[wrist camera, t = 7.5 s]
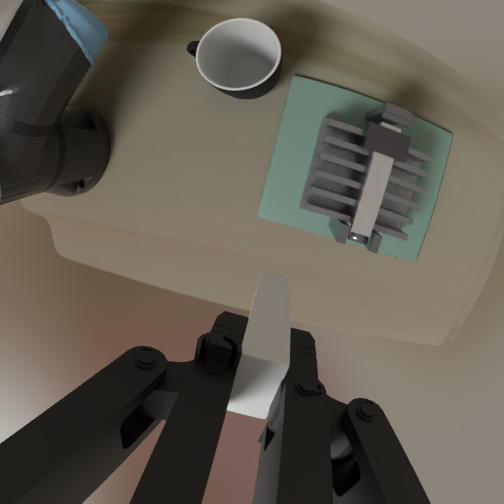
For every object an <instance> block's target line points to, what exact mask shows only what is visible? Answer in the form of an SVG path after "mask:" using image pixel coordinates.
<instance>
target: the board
mask: <svg viewBox="0 0 504 504" xmlns="http://www.w3.org/2000/svg"><path fill="white" fill-rule="evenodd" d="M383 104H384V103H382V102H379V101H377V100H374V99H371V98H368V97H366V96H363V95H360V94H357V93H354V92H351V91H348V90H345V89H342V88H339V87H335V86H332V85H329V84H325V83H322V82H318V81H314V80H311V79H307V78H303V77H299V76H295V75H293V77H292V81H291V85H290V89H289V93H288V97H287V101H286V104H285V108H284V112H283V116H282V120H281V124H280V128H279V132H278V136H277V140H276V144H275V148H274V152H273V156H272V160H271V164H270V168H269V172H268V176H267V180H266V183H265V187H264V191H263V195H262V199H261V203H260V207H259V211H258V215H257V217H258V218H262V219H265V220H269V221H273V222H277V223H280V224H284V225H288V226H291V227H295V228H299V229H302V230H306V231H309V232H313V233H316V234H320V235H323V236H327V237H330V238H334V236H333V234H332V232H331V230H330V228H329V226H328V224H329V221H330V218H331V217H328V216H325V215H321V214H318V213H315V212H311V211H307V210H304V209H300V208H299V204H300V201H301V197H302V193H303V190H304V186H305V182H306V179H307V175H308V171H309V167H310V164H311V160H312V156H313V152H314V148H315V144H316V141H317V137H318V133H319V129H320V125H321V121H322V118H323V117H325V118H329V119H333V120H336V121H339V122H342V123H345V124H348V125H351V126H354V127H357V128H360V129H363V130H367V126H368V122H369V121H366V120H365V117H366V113H368V112H370V111H371V110H373V109H375V108H377V107H379V106H381V105H383ZM393 126H394V127H397V128H399V129H402V130H401V134H404V135H406V136H409V137H411V142H410V148H412V149H415V150H417V151H419V152H421V153H424V154H426V155H428V156H430V157H432V160H431V163H428V162H421V164H420V168H419V169H420V170H423V171H425V172H427V173H428V176H427V178H422V177H418V176H417V179H416V183H415V185H416V186H419V187H421V188H424V190H423V193H422V194H420V193H417V192H414V191H413V193H412V197H411V200H410V201H412V202H415V203H417V204H419V207H418V210H416V209H414V208H411V207H408V210H407V213H406V216H408V217H410V218H411V219H413V220H414V222H413V225H409V224H407V223H404V222H403V225H402V228H401V230H402V231H403V232H405V233H406V234H407V235H409V237H408V240H407V241H405V240H402V239H399V238H396V237H393V236H390V235H387V234H383V233H380V232H378V233H379V234H380V235H381V236H382V237H383V238H382V241H381V244H380V247H379V249H378V252H381V253H384V254H388V255H391V256H394V257H397V258H401V259H404V260H407V261H410V262H413V263H415V260H416V258H417V255H418V252H419V250H420V247H421V244H422V241H423V239H424V236H425V233H426V230H427V227H428V224H429V221H430V218H431V215H432V212H433V209H434V205H435V202H436V199H437V195H438V192H439V188H440V185H441V181H442V177H443V173H444V170H445V166H446V161H447V157H448V153H449V148H450V144H451V139H452V134H451V133H449V132H447V131H445V130H443V129H441V128H439V127H437V126H435V125H433V124H431V123H429V122H426V121H424V120H422V119H420V118H418V117H416V116H413V115H412V116H411V121H410V123H409V127H403V126H401V125H399V124H397V125H393ZM347 223H348V222H347ZM348 224H349V226H351V223H348ZM334 239H335V238H334ZM346 242H348V243H351V244H355V245H358V246H361V247H365V248H366V246H365V245H364V244H362V243H358V242H355V241H352V240H348V237H347V240H346Z"/></svg>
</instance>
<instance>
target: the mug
mask: <svg viewBox="0 0 504 504" xmlns="http://www.w3.org/2000/svg"><path fill="white" fill-rule="evenodd" d="M187 51H188V53H190V54H191V55H193V56H194V57H196V63H197V67H198V69H199V72H200V73H201V75H202V76H203V78H204V79H205V80H206V81H207V82H208V83H209V84H211V85H212V86H213V87H215V88H216V89H218V90H219V91H221V92H223V93H225V94H227V95H230V96H232V97H235V98H239V99H255V98H258V97H261V96H263V95H265V94H266V93H268V92H269V91H270V90H271V89H272V88H273V87H274V85H275V84H276V82H277V80H278V78H279V75H280V71H281V66H282V48H281V44H280V41H279V38H278V37H277V35H276V34H275V32H274V31H273V30H272V29H271V28H270V27H268V26H267V25H266V24H264V23H262V22H260V21H257V20H254V19H249V18H235V19H230V20H226V21H223V22H221V23H219V24H217V25H215V26H214V27H212V28H211V29H210V30H209V31H208V32H207V33H206V34H205V35H204V36H203V37H202V39H201V41H192V42H190V43H189V44H188V46H187Z"/></svg>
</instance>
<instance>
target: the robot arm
mask: <svg viewBox="0 0 504 504" xmlns="http://www.w3.org/2000/svg"><path fill="white" fill-rule="evenodd" d="M107 38H108V30H107V27H106V26H105V25H104V23H103V22H102V21H101V20H99V19H98V18H97V17H96V16H95V15H94V14H92V13H91V12H90V11H89V10H87V9H86V8H85V7H83V6H82V5H80V4H79V3H78V2H76V1H75V0H0V205H2V204H5V203H8V202H11V201H14V200H17V199H21V198H24V197H27V196H31V195H34V194H38V193H42V192H47V193H52V194H56V195H60V196H66V197H67V196H75V195H79V194H82V193H85V192H87V191H89V190H90V189H91V188H93V187H94V186H95V185H96V183H97V182H98V181H99V179H100V178H101V176H102V174H103V172H104V170H105V168H106V165H107V161H108V156H109V134H108V130H107V127H106V124H105V122H104V120H103V119H102V117H101V116H100V115H99V113H98V112H96V111H95V110H94V109H92V108H90V107H86V106H79V105H72V106H67V105H68V103H69V101H70V99H71V98H72V96H73V94H74V92H75V91H76V89H77V87H78V86H79V84H80V82H81V81H82V79H83V78H84V76H85V75H86V73H87V71H88V70H89V68H90V67H92V66H93V64H94V60H95V58H96V57H97V55H98V54H99V52H100V50H101V49H102V47H103V46H104V44H105V43H106V41H107ZM66 106H67V107H66ZM226 410H229V411H232V412H236V413H240V414H244V415H248V416H253V417H257V418H262V419H266V417H267V415H268V413H269V416H268V422H267V424H266V426H265V428H264V430H263V432H262V434H261V436H260V438H259V441H258V442H259V443H261V442H262V445H261V452H260V459H259V465H258V472H257V479H256V485H255V491H254V497H253V503H252V504H430V501H429V499H428V498H427V495H426V493H425V491H424V489H423V487H422V485H421V483H420V481H419V479H418V477H417V475H416V473H415V471H414V469H413V467H412V465H411V463H410V461H409V459H408V457H407V455H406V454H405V452H404V450H403V448H402V446H401V444H400V442H399V440H398V438H397V436H396V434H395V432H394V431H393V429H392V427H391V425H390V423H389V421H388V419H387V417H386V416H385V414H384V412H383V410H382V409H381V408H380V407H379V405H377V404H376V403H375V402H373V401H371V400H368V399H364V398H357V399H353V400H352V401H351V402H350V403H349V404H348V405H347V404H345V403H342V402H339V401H337V400H335V399H333V398H331V397H329V396H328V395H327V394H326V390H325V387H324V385H323V384H322V383H321V382H320V381H319V380H318V372H317V359H316V350H315V340H314V338H313V337H312V335H311V334H310V332H306V331H303V330H298V329H294V328H291V278H288V277H284V276H280V275H277V274H273V273H269V272H266V271H262V270H261V274H260V278H259V281H258V285H257V289H256V292H255V296H254V299H253V303H252V307H251V310H250V314H249V317H244V316H241V315H237V314H234V313H230V312H227V311H225V312H223V313H222V314H220V315H219V316H217V318H216V320H215V323H214V325H213V327H212V330H211V331H210V332H209V333H206V334H203V335H201V336H200V338H199V339H198V341H197V347H196V352H195V359H194V360H191V361H188V362H170V361H167V359H166V357H165V356H164V354H163V353H161V352H160V351H159V350H157V349H155V348H152V347H147V346H138V347H134V348H132V349H130V350H128V351H126V352H125V353H124V354H122V355H121V356H120V357H118V358H117V359H116V360H114V361H113V362H111V363H110V364H109V365H108V366H106V367H105V368H103V369H102V370H101V371H99V372H98V373H97V374H95V375H94V376H93V377H91V378H90V379H88V380H87V381H86V382H84V383H83V384H82V385H80V386H79V387H78V388H76V389H75V390H74V391H72V392H71V393H69V394H68V395H67V396H65V397H64V398H63V399H61V400H60V401H58V402H57V403H56V404H54V405H53V406H51V407H50V408H49V409H47V410H46V411H45V412H43V413H42V414H40V415H39V416H38V417H36V418H35V419H34V420H32V421H31V422H29V423H28V424H27V425H25V426H24V427H23V428H21V429H20V430H19V431H17V432H16V433H15V434H13V435H12V436H10V437H9V438H7V439H6V440H5V441H3V442H2V443H1V444H0V504H82V503H83V502H84V501H85V500H86V499H87V498H88V497H89V496H90V495H91V494H92V493H93V492H94V491H95V490H96V489H97V488H98V487H99V486H100V485H101V484H102V483H103V482H104V481H105V480H106V479H107V478H108V477H109V476H110V475H111V474H112V473H113V472H114V471H115V470H116V469H117V468H118V467H119V466H120V465H121V464H122V463H123V461H125V459H126V458H127V457H128V456H129V455H130V454H131V453H132V452H133V451H134V450H135V449H136V448H137V447H138V446H139V445H140V444H141V442H142V441H143V440H144V439H145V438H146V437H147V436H148V435H149V434H150V433H151V432H152V431H153V429H155V427H156V426H157V425H158V424H159V423H160V422H161V420H167V421H166V424H165V425H164V428H163V430H162V432H161V434H160V436H159V439H158V441H157V443H156V445H155V448H154V450H153V452H152V454H151V457H150V459H149V461H148V463H147V465H146V468H145V470H144V472H143V474H142V477H141V479H140V481H139V483H138V486H137V488H136V490H135V492H134V495H133V497H132V499H131V501H130V504H201V503H202V499H203V495H204V492H205V489H206V485H207V481H208V478H209V474H210V470H211V467H212V463H213V459H214V455H215V452H216V448H217V444H218V440H219V437H220V433H221V429H222V425H223V422H224V418H225V414H226Z"/></svg>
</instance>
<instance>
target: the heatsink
mask: <svg viewBox="0 0 504 504" xmlns="http://www.w3.org/2000/svg"><path fill="white" fill-rule="evenodd" d="M411 116H412V112H410V111H408V110H405V109H403V108H401V107H398V106H396V105H393V104H391V103H388V102H386V103H384V104H383V105H381V106H379V107H377V108H375V109H373V110H371V111H370V112H368V113H366V117H365V120H366V121H369V122H373V123H376V124H380V122H384V123H387V124H389V125H392V126H393V125H397V124H399V125H401V126H403V127H409V123H410V121H411ZM365 134H366V130H363V129H360V128H357V127H354V126H351V125H348V124H345V123H342V122H339V121H336V120H333V119H329V118H325V117H323V118H322V121H321V125H320V129H319V133H318V137H317V141H316V144H315V148H314V152H313V156H312V160H311V164H310V167H309V171H308V175H307V179H306V182H305V186H304V190H303V193H302V197H301V201H300V204H299V208H300V209H304V210H307V211H311V212H315V213H318V214H321V215H325V216H328V217H331V218H330V221H329V224H328V226H329V228H330V230H331V232H332V234H333V236H334V238H335V239H336V241H337V242H340V243H343V244H345V243H346V240H347V237H348V234H349V231H350V228H351V227H350V226H349V224H348V223H352V220H353V216H354V213H355V210H356V207H357V204H358V201H359V197H360V194H361V191H362V187H363V184H364V180H365V177H366V174H367V170H368V166H369V163H370V159H371V155H372V152H373V151H370V150H367V149H364V148H362V146H363V142H364V138H365ZM431 160H432V157H430V156H428V155H426V154H424V153H421V152H419V151H417V150H415V149H412V148H410V147H409V150H408V154H407V158H406V162H405V163H402V162H399V161H397V160H394V161H393V165H392V168H391V172H390V175H389V179H388V182H387V186H386V189H385V192H384V196H383V199H382V202H381V205H380V208H379V211H378V214H377V217H376V220H375V223H374V226H373V229H372V232H371V235H370V238H369V241H368V243H367V244H366V245H365V244H364V245H365V246H366V248H367V249H368V250H369V251H370V252H374V253H377V252H378V249H379V247H380V244H381V241H382V238H383V237H382V236H381V235H380V234H379V233H378V232H380V233H383V234H387V235H390V236H393V237H396V238H399V239H402V240H405V241H407V240H408V237H409V235H407V234H406V233H405V232H403V231H402V230H401V228H402V225H403V222H404V223H407V224H409V225H413V222H414V220H413V219H411V218H410V217H408V216H406V213H407V210H408V207H411V208H414V209H416V210H418V207H419V204H417V203H415V202H412V201H410V200H411V197H412V193H413V191H414V192H417V193H420V194H422V193H423V190H424V188H421V187H419V186H416V185H415V183H416V179H417V176H418V177H422V178H427V176H428V173H427V172H425V171H423V170H420V169H419V168H420V164H421V162H428V163H431ZM347 222H348V223H347Z"/></svg>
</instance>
